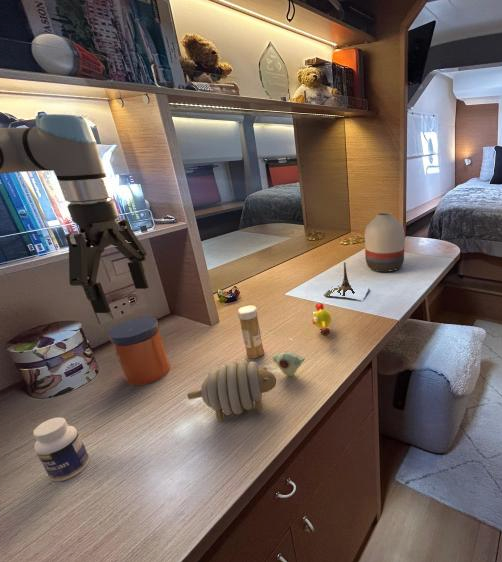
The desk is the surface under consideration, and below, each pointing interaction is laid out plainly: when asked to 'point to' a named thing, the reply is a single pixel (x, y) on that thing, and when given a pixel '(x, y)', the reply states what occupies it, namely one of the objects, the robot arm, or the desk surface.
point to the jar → (143, 360)
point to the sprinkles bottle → (251, 331)
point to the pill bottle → (60, 449)
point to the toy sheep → (235, 388)
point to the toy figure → (322, 319)
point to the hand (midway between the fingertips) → (124, 299)
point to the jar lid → (133, 331)
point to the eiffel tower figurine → (344, 286)
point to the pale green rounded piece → (288, 362)
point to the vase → (384, 243)
